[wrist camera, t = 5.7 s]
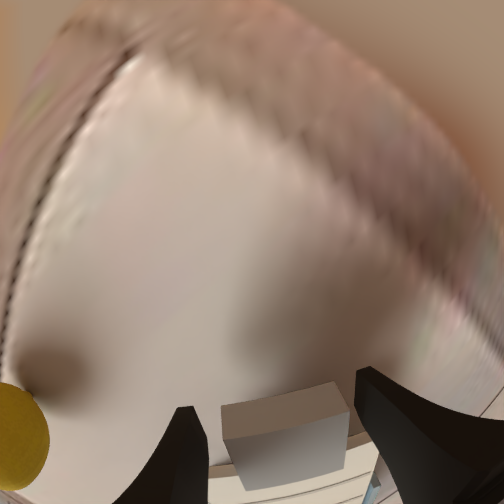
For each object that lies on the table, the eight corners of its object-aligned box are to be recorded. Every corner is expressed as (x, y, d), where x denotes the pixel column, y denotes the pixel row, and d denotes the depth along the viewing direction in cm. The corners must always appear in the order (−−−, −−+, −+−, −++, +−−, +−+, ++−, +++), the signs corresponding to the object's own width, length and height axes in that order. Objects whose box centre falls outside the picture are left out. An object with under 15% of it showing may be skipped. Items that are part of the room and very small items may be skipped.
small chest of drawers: (356, 504, 13) (362, 519, 12) (238, 530, 13) (240, 547, 11) (387, 363, 9) (409, 388, 8) (160, 412, 9) (155, 445, 7)
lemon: (40, 359, 12) (-28, 461, 4) (79, 428, 13) (45, 526, 6) (-15, 355, 11) (-77, 430, 4) (22, 419, 13) (-17, 496, 5)
